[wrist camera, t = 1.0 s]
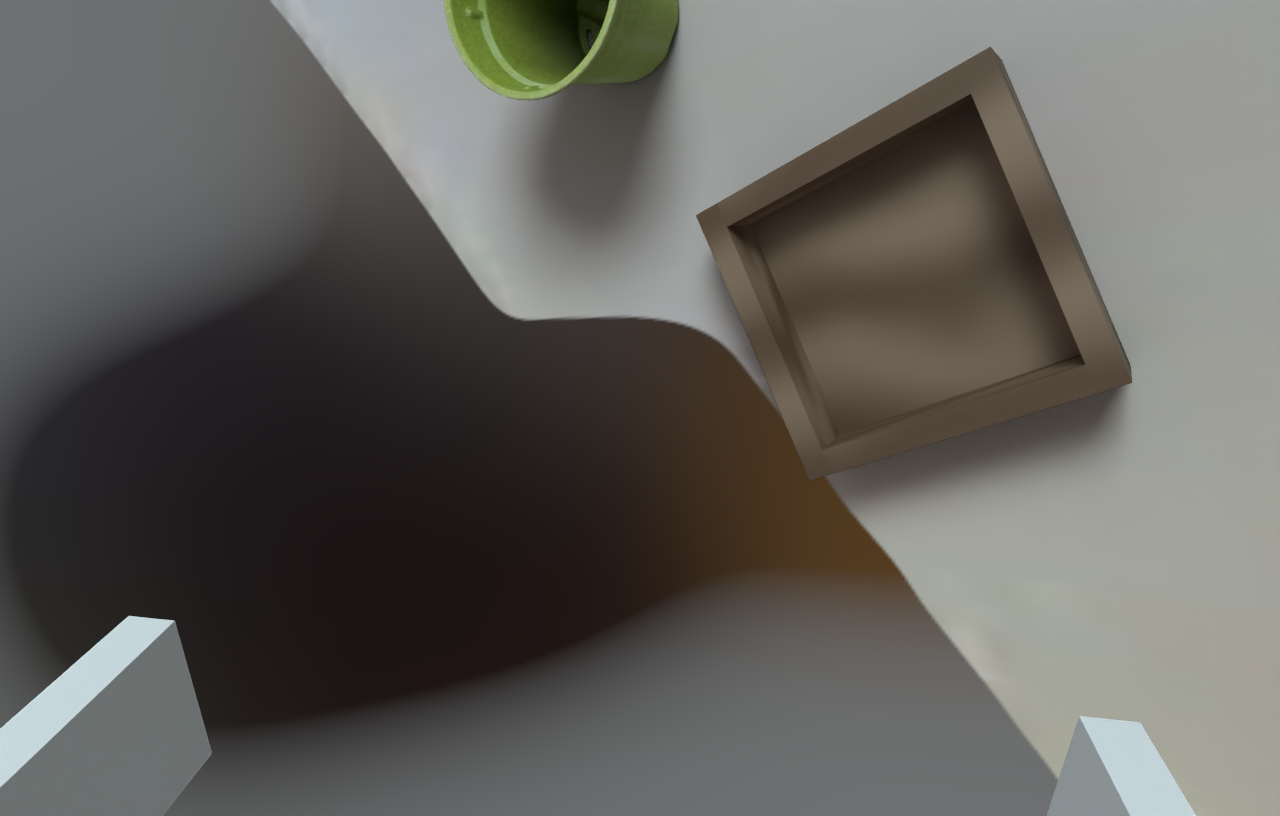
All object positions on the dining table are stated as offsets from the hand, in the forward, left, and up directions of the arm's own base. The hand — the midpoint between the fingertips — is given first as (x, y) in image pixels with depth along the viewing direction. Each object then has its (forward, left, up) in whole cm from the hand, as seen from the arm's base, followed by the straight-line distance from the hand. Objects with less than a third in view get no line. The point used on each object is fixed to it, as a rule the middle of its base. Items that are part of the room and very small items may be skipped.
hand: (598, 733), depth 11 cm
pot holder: (-4, -2, -29) cm, 30 cm away
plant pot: (-16, -18, -30) cm, 38 cm away
